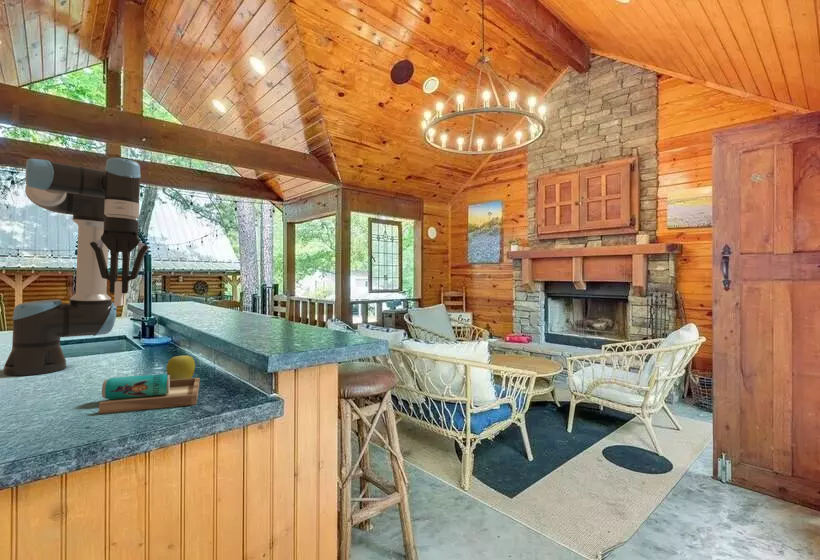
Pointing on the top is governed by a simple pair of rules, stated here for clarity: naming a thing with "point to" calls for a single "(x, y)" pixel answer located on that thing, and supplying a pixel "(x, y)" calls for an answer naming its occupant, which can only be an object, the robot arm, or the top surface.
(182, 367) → the apple
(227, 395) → the top surface
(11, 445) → the top surface
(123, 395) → the beverage can
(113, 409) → the wooden tray
